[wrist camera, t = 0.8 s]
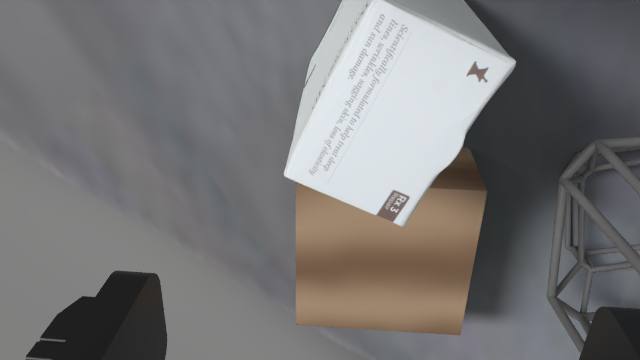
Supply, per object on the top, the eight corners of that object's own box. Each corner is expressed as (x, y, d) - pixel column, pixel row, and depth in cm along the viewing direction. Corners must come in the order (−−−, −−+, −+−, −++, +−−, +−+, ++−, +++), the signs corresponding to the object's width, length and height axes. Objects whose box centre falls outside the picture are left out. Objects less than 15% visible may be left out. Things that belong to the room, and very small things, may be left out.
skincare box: (368, -61, 31) (372, -26, 18) (460, -12, 32) (529, 55, 18) (306, 69, 34) (272, 176, 21) (390, 109, 35) (406, 236, 22)
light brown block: (305, 139, 37) (295, 181, 31) (469, 147, 36) (487, 191, 31) (304, 270, 42) (295, 324, 37) (447, 278, 41) (460, 335, 36)
